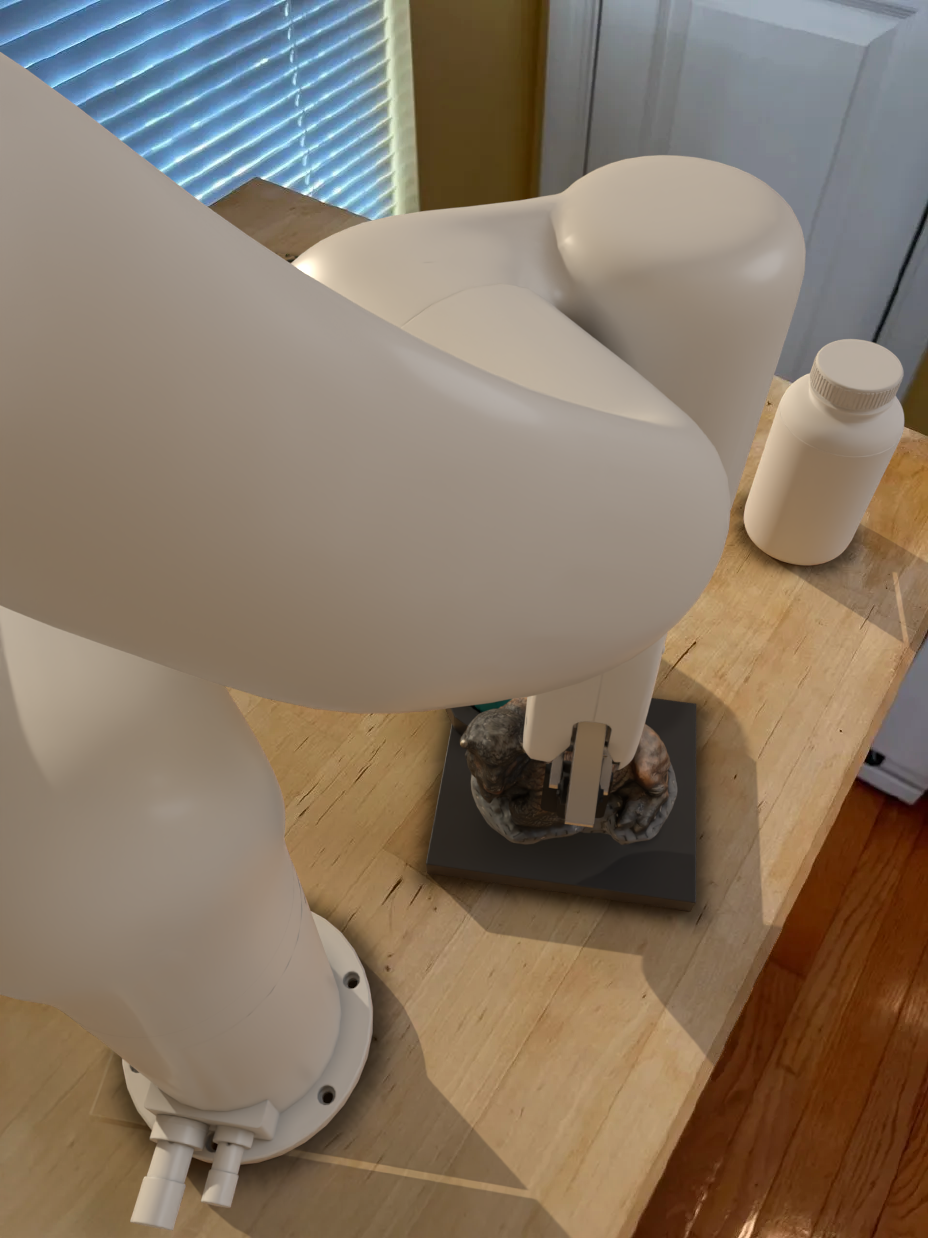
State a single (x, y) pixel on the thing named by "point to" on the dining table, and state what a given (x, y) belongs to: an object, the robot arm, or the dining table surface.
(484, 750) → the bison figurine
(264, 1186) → the dining table surface
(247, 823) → the robot arm
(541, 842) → the scale
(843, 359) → the pill bottle
